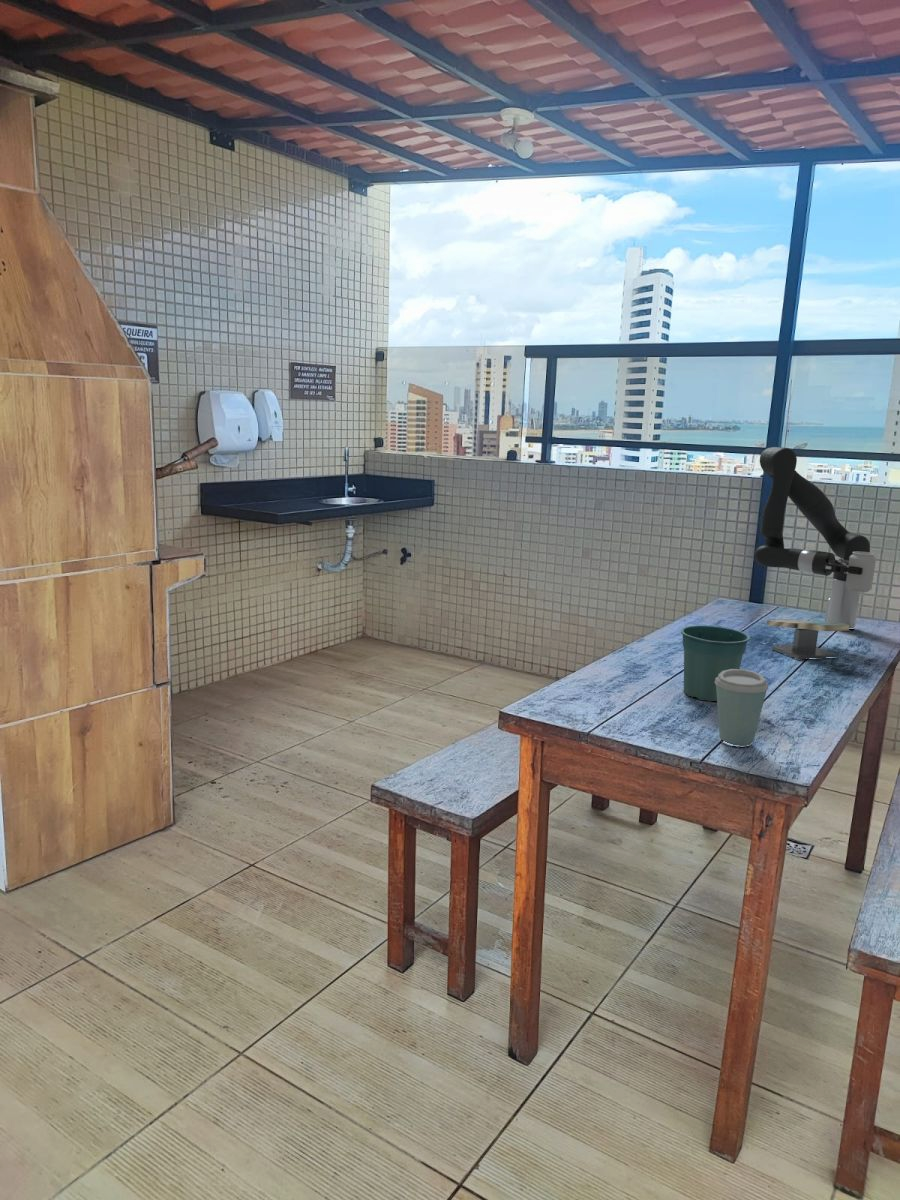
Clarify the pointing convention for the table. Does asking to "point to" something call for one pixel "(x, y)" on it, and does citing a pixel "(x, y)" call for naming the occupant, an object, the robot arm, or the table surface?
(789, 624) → the beam
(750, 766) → the table surface
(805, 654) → the stand
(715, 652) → the flower pot
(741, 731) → the disposable coffee cup
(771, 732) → the table surface
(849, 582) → the can
